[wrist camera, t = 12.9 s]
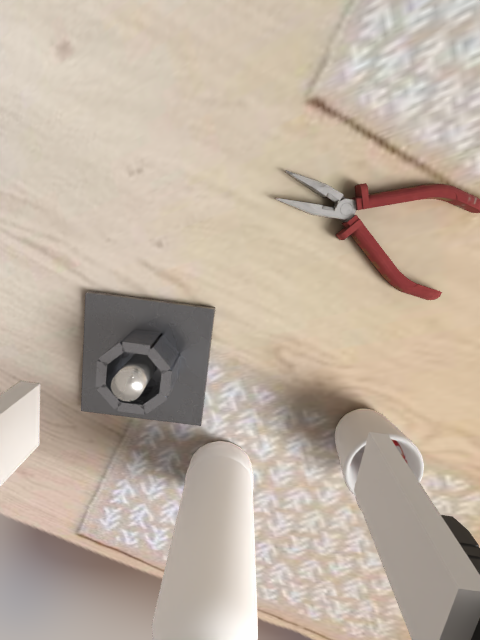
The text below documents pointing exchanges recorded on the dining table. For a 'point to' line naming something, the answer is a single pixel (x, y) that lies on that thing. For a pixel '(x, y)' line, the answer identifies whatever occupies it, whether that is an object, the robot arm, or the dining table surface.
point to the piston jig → (137, 369)
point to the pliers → (363, 200)
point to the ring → (160, 355)
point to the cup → (354, 439)
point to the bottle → (211, 552)
